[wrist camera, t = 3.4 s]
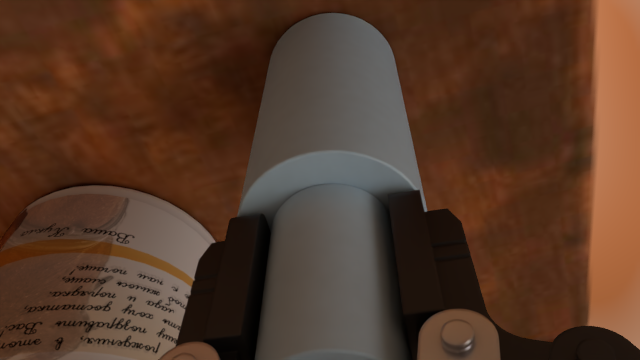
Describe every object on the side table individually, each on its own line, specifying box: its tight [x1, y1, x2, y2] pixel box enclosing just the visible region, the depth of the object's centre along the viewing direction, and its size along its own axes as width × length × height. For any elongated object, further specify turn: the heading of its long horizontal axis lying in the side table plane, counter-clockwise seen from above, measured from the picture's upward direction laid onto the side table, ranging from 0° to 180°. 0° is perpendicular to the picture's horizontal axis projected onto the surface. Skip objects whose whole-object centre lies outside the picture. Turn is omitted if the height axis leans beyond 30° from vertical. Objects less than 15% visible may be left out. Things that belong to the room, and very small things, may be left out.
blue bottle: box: [238, 13, 427, 360], centre depth 15 cm, size 4×4×13 cm
